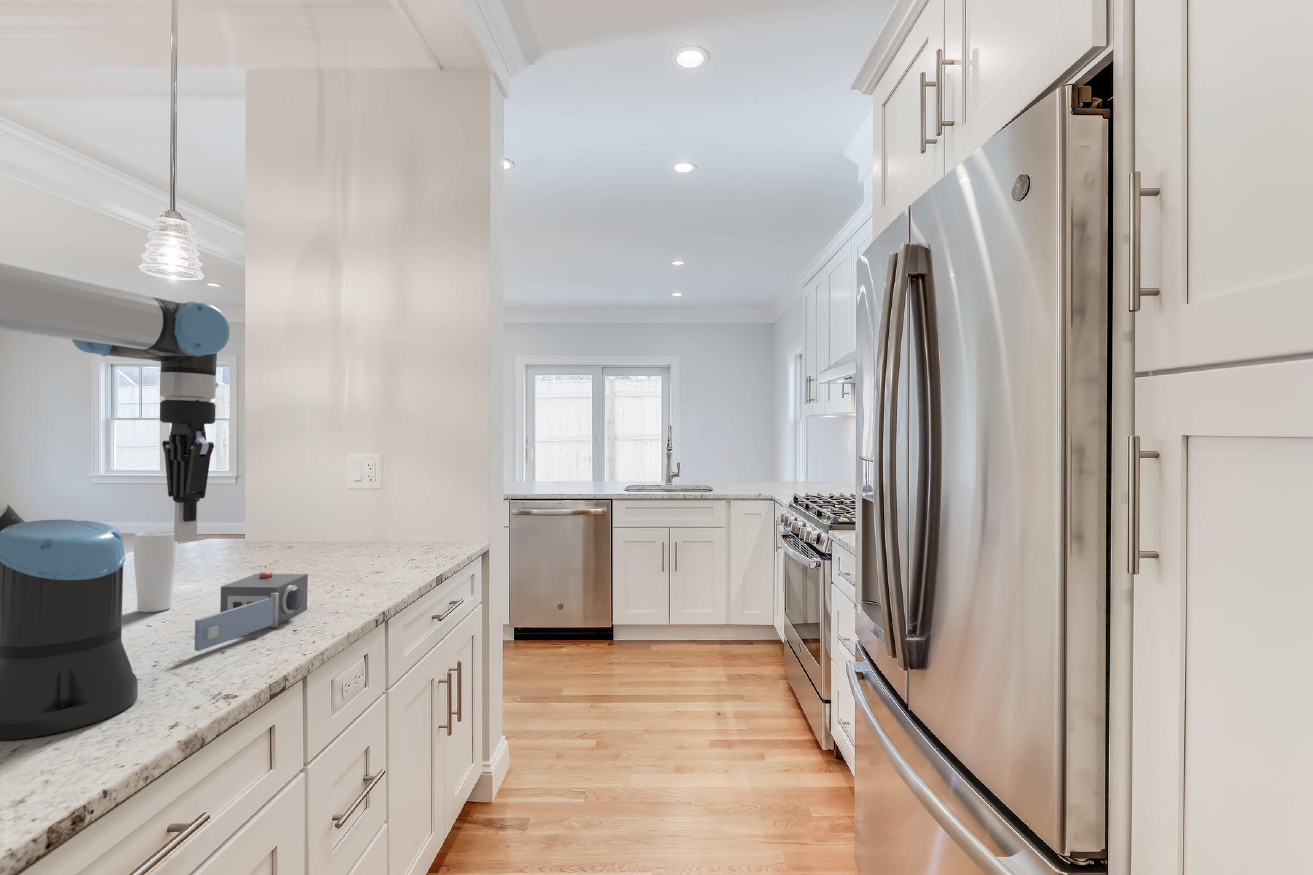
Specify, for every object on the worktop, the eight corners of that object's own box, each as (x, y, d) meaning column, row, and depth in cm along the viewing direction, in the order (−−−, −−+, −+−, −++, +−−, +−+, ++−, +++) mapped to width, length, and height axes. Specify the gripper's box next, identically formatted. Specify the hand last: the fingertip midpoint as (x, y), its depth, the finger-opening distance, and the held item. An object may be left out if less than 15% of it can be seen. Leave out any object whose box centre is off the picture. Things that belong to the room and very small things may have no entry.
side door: (281, 626, 115) (282, 593, 115) (202, 655, 100) (203, 617, 100) (273, 625, 116) (274, 592, 116) (193, 654, 100) (194, 616, 100)
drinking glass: (185, 605, 128) (186, 531, 128) (155, 615, 121) (156, 536, 121) (154, 604, 128) (155, 529, 128) (122, 613, 122) (124, 535, 122)
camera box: (283, 626, 116) (284, 583, 116) (218, 625, 115) (219, 582, 115) (315, 609, 127) (316, 570, 127) (255, 608, 127) (256, 569, 127)
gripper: (232, 400, 107) (229, 541, 107) (195, 401, 114) (192, 534, 114) (180, 398, 100) (176, 547, 100) (144, 399, 107) (141, 539, 107)
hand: (185, 540), depth 107 cm, fingers closed
